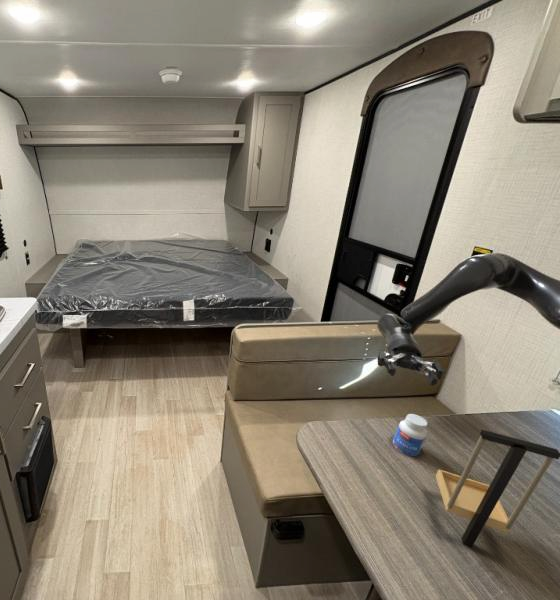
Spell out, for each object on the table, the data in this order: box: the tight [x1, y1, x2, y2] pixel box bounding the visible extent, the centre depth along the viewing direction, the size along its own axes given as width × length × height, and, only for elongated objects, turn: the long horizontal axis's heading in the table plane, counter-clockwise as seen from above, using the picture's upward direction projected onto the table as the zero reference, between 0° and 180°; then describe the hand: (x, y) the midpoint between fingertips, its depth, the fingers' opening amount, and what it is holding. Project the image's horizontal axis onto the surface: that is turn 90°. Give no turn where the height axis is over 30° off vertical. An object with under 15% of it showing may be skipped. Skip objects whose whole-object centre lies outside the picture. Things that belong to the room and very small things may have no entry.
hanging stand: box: [435, 429, 560, 548], centre depth 57 cm, size 9×9×25 cm
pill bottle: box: [392, 413, 429, 457], centre depth 77 cm, size 6×5×10 cm
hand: (412, 377), depth 82 cm, fingers open, 8 cm apart
